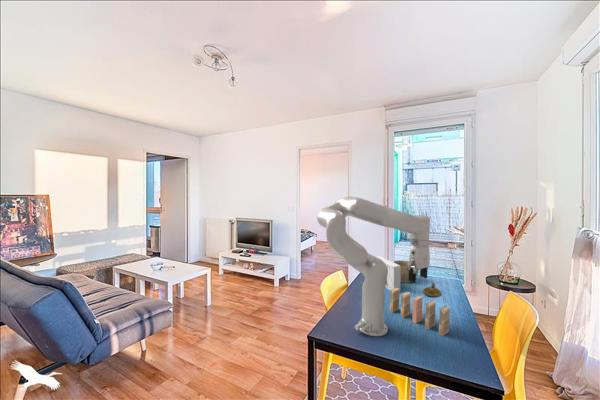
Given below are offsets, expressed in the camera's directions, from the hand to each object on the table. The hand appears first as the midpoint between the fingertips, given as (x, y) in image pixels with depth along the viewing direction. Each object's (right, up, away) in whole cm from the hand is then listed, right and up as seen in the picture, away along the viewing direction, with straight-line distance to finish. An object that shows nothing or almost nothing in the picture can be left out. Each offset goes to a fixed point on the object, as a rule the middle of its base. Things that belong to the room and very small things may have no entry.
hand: (417, 279), depth 119 cm
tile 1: (-3, -19, +6) cm, 21 cm away
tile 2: (0, -20, +1) cm, 20 cm away
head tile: (-7, -19, +11) cm, 23 cm away
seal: (+23, -18, +33) cm, 44 cm away
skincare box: (0, -17, +43) cm, 46 cm away
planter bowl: (+15, -17, +52) cm, 57 cm away
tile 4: (+7, -21, -8) cm, 23 cm away
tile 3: (+4, -20, -4) cm, 21 cm away
